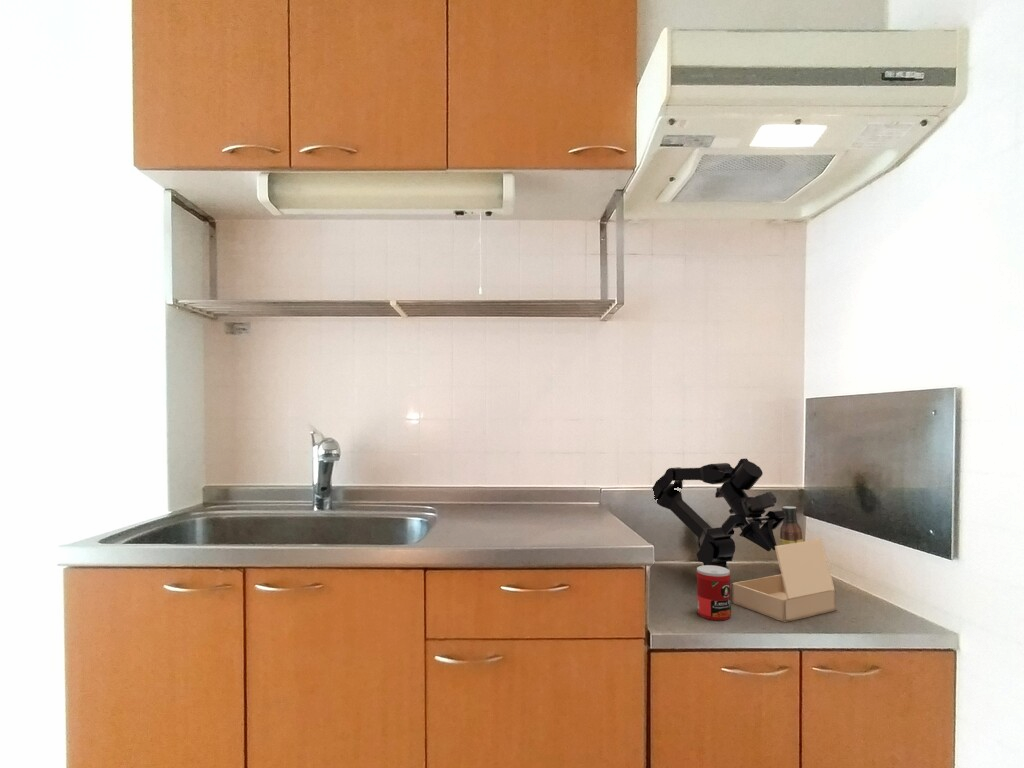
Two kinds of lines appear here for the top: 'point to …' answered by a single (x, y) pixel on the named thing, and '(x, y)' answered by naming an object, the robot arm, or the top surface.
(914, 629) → the top surface
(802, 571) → the carton flap
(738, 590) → the carton
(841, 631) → the top surface
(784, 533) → the sauce bottle
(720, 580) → the canned food
